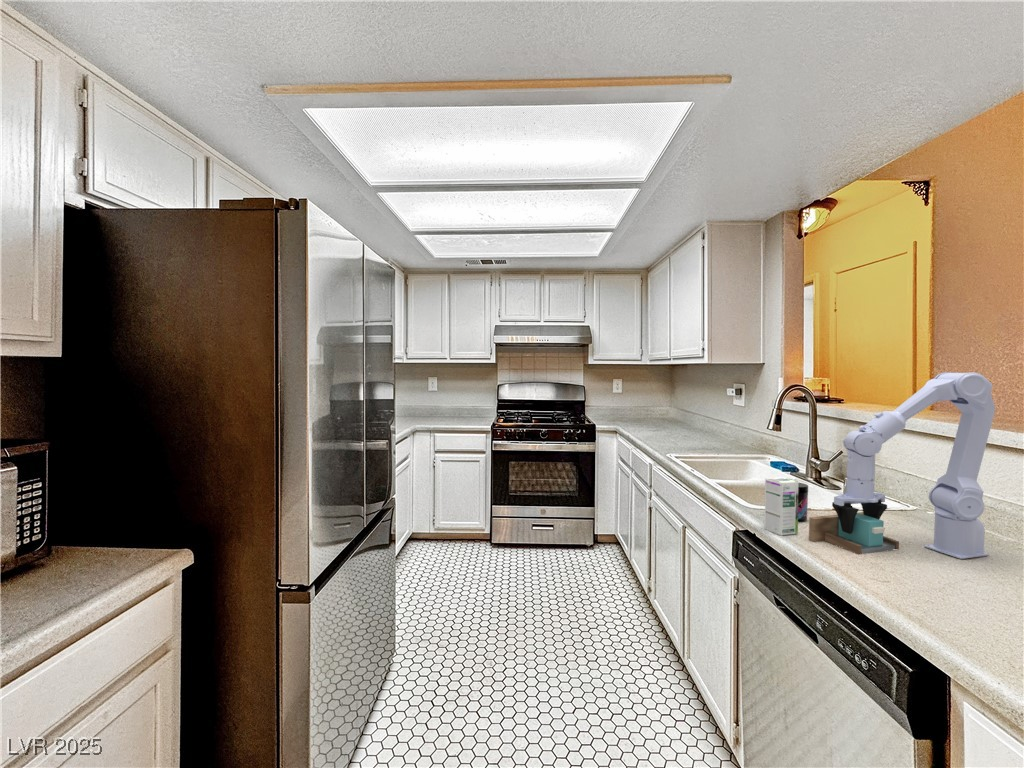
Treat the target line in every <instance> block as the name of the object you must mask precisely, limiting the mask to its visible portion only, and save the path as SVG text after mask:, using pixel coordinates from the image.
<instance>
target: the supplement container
mask: <svg viewBox="0 0 1024 768" xmlns="http://www.w3.org/2000/svg"><path fill="white" fill-rule="evenodd" d="M808 501H809V485H808V484H806V483H805V482H804V483H803V482H799V481H798V523H801V522H803V523H804V522H806V521H807V520H808V507H809V506H808V505H809V504H808V503H809V502H808Z"/></svg>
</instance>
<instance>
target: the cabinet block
mask: <svg viewBox="0 0 1024 768" xmlns="http://www.w3.org/2000/svg"><path fill="white" fill-rule="evenodd" d="M859 513H860V512H857V514H856V516H855V520H854V526H853V532H852V534H848V533H846V532H843V531H842V528H841V524H840V520H839V528H838V535H839V536H842V537H844V538H847V539H850V540H853V541H855V542H858V543H861V544H863V545H866V546H869V547H870V546H878V545H883V536H884V533H885V527H884V523H885V521H884V520H881V519H876V518H872V517H869V516H866V515H863V514H859Z"/></svg>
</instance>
